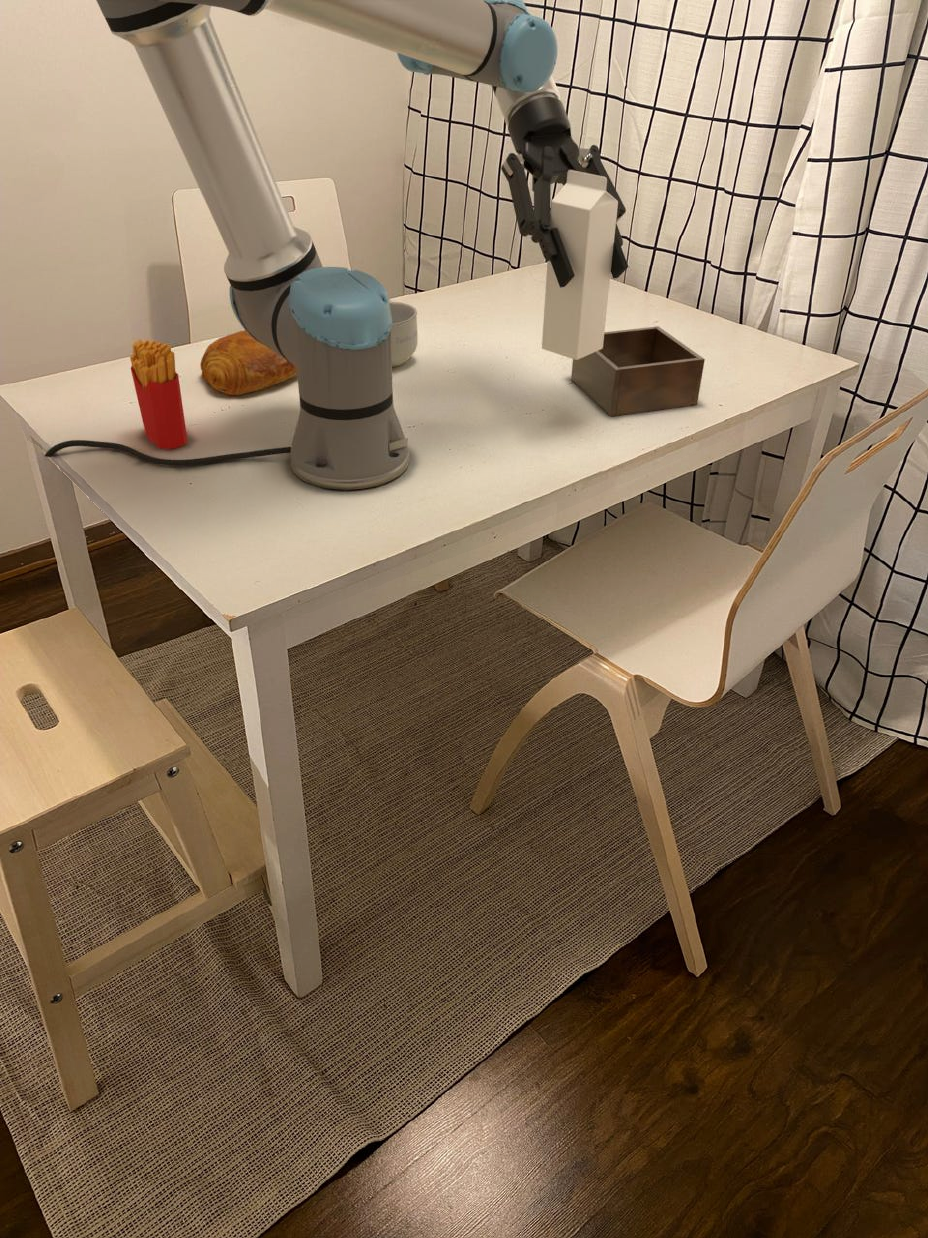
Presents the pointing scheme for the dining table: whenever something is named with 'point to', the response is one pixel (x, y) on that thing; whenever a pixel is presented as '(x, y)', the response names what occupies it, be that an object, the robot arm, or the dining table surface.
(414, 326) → the teacup
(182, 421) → the french fries
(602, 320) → the milk
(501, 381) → the dining table surface
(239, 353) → the croissant
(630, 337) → the caddy
